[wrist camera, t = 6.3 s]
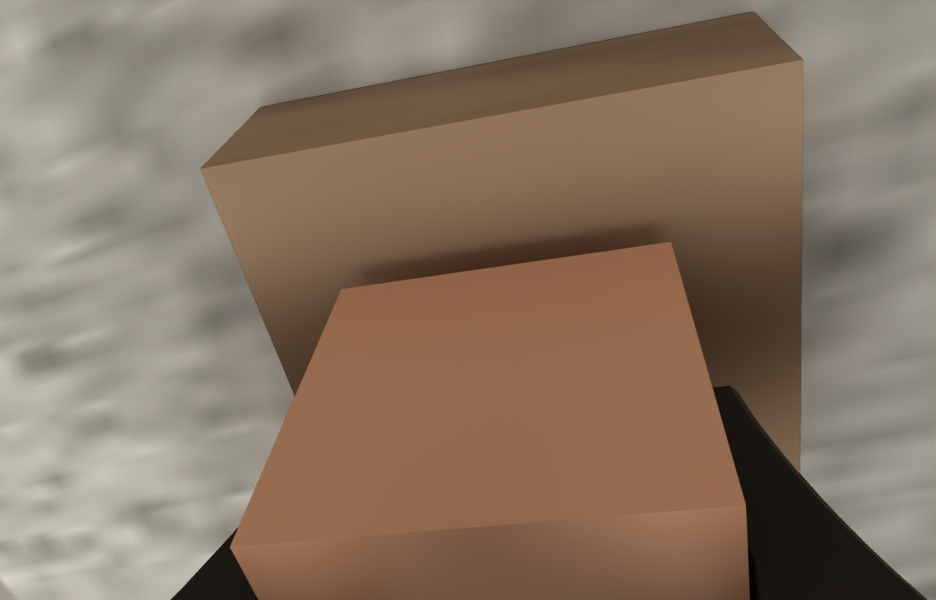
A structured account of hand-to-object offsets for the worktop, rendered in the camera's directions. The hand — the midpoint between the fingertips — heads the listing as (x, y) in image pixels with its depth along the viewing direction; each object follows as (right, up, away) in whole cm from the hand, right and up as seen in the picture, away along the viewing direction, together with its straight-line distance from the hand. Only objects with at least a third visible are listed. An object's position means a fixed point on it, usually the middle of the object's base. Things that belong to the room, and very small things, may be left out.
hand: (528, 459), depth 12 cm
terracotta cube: (0, +1, +1) cm, 2 cm away
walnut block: (0, +3, +5) cm, 5 cm away
